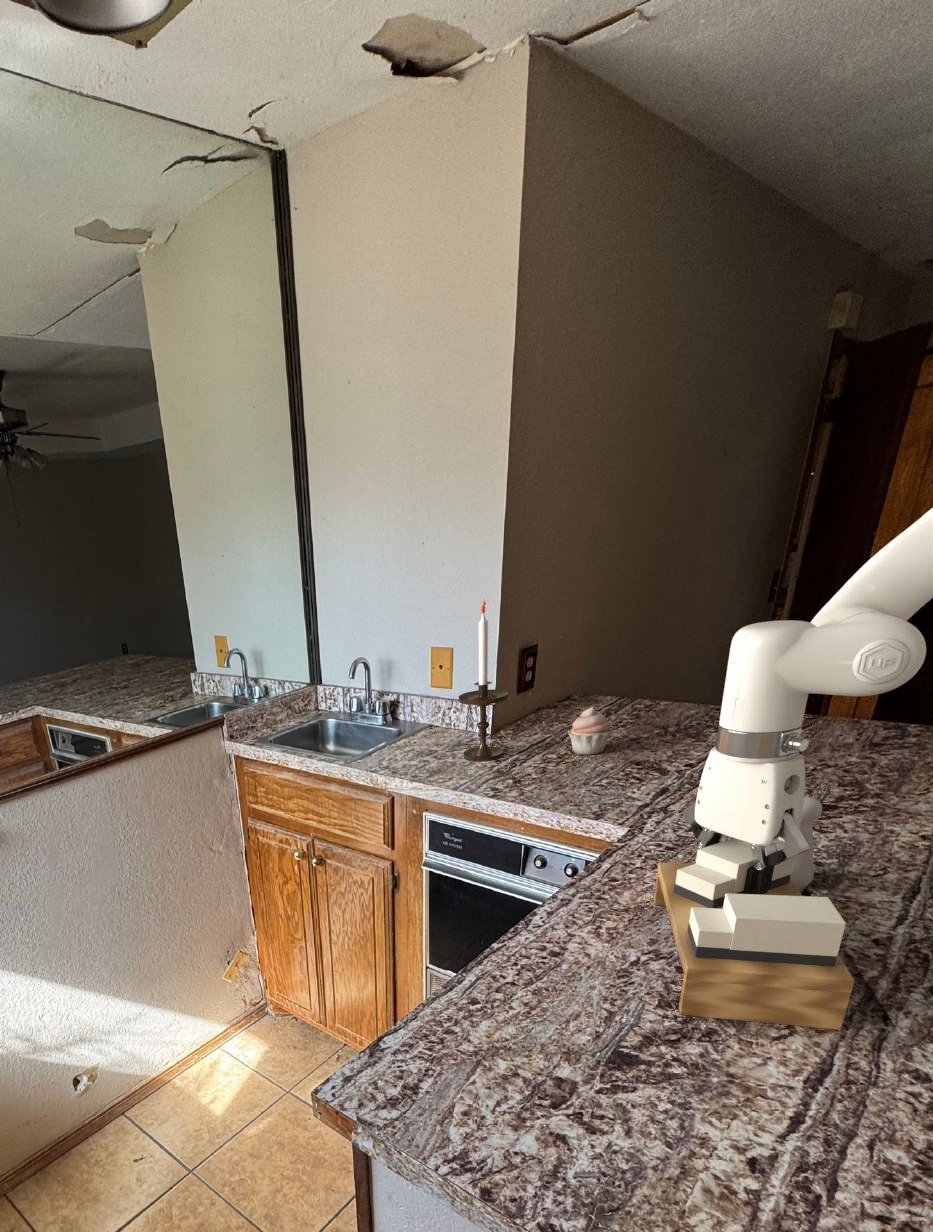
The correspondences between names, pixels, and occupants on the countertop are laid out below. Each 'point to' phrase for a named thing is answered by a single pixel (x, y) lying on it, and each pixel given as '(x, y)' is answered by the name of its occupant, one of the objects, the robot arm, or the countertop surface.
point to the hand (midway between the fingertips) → (731, 884)
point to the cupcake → (590, 732)
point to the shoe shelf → (752, 975)
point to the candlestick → (483, 699)
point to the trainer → (724, 873)
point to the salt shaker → (804, 861)
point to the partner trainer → (768, 929)
